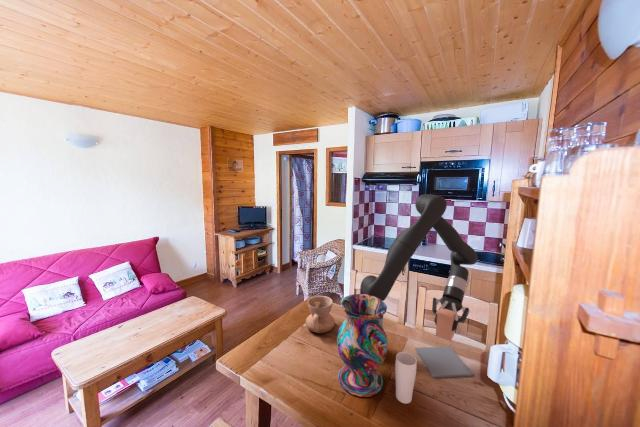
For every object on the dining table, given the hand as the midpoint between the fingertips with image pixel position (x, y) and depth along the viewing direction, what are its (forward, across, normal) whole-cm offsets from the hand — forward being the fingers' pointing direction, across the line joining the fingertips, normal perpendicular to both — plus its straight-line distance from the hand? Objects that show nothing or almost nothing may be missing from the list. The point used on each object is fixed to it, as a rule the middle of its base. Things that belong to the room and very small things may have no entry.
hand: (444, 327), depth 101 cm
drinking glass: (+30, -5, -7) cm, 31 cm away
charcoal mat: (+10, 0, +13) cm, 16 cm away
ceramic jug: (+22, -53, +1) cm, 57 cm away
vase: (+32, -20, -9) cm, 39 cm away
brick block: (+2, 0, +4) cm, 5 cm away
